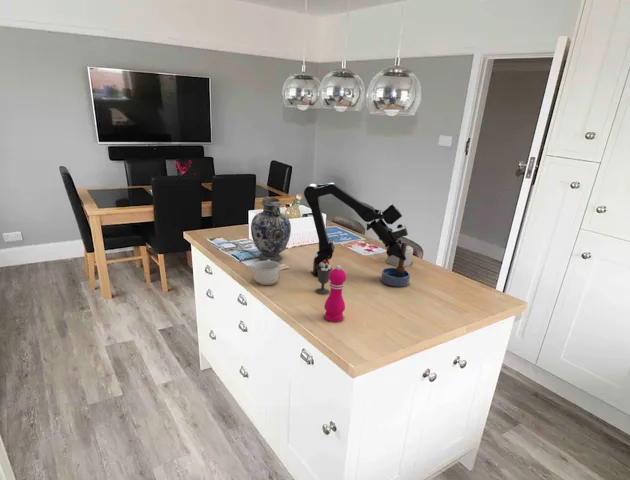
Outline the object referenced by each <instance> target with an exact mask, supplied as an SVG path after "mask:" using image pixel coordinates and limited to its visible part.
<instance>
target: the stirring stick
mask: <svg viewBox="0 0 630 480" xmlns="http://www.w3.org/2000/svg"><path fill="white" fill-rule="evenodd" d="M401 245H402V246H401V250H402V252H403V254H404V256H405V253H406V246H408V242H407V241H401ZM403 265H404V260H402V259H400V258H399V264H398V266H395V268H396V274H399V275H403V274H404V270H406V266H403Z"/></svg>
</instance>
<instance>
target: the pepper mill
mask: <svg viewBox="0 0 630 480" xmlns="http://www.w3.org/2000/svg"><path fill="white" fill-rule="evenodd" d="M328 281H329V285H328V286H329V288H330V291H329V295H328V297H327V299H326V300H325V303H324V310H325V312H324V313H325V314H324V318H325V319H326V320H327V321H328V322H332V323H337V322H341V321H342V320H343V318H344V314H343V313H344V311H345V310H346V304H345V300H344V297H343V289H344V288H345V286H344V285H345V281H347V273H346V272H345V271H344V270H343V269H342V266H341V265H340V264H337V265H335V268H332V270H331V271H330V273H329V280H328Z"/></svg>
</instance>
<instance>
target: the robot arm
mask: <svg viewBox="0 0 630 480" xmlns="http://www.w3.org/2000/svg"><path fill="white" fill-rule="evenodd" d="M326 195H332V196H333V197H335V198H337V199H338V200H339V201H341V202H342V203H343V204H345V205H347V206H348V207H349V208H351V209H352V210H353V211H354V212H355V213H356V215H358V216H359V218H361V219H362V220H363V221H364V222H365V223H366V231H369V230H370V229H371V230H372V231H373V232H374V233H375V235H376V237H378V240H379V241H381V242H382V243H383V244H384V247H385V251H386V255H388V256H389V257H390V256H392V255H393V256H396V257H398V258H400V259H402V260H406V256H404V254H403V252H402V250H401V246H402V245H401V244H402V240H401V238H402V237H407V236H408V235H409V232H408V230H407V226H406V225H403V224H401V223H399V224H397V225H396V228H394V229H393V228H392V227H389V226H388V225H393V224H395V223H396V222H397V221H398V220H400V219H401V218H402V217H403V214H402V213H401V212H400V211H399V209H398V208H397V207H396V206H395V205H394V204H393V203H390V204H389V205H388V206H387V207H386V208H385V209H383V210H381V209H376V208H374V206H373V205H370V204H368V203H365V202H362V201H360V200H359V199H357V198H355V197H354V196H352V195H351V194H350V193H348V192H347V191H345V190H344V189H343V188H341V187H340V186H339V185H337V184H336V183H335V182H329V183H322V184H315V183H310V184H308V185H307V186H306V187H305V188H304V191H303V196H304V198H305V200H306V203H307V205H308V206H309V208H310V210H311V211H310V212H311V215H312V218H313V222H314V223H313V224H314V227H315V230H316V233H317V234H316V235H317V239H318V251H317V252H316V253H315V255H314V257H313V263H312V264H313V266H312V270H311V273H312V274H313V275H314V277H318V271H317V270H316V267H317V264H318V265H319V264H320V263H321V262H322V261H323V260H325V259H326V262H327V261H330V260H331V259H332V257H333V254H334V253H335V245H334V239H333V238H332V239H330V238H329V236H328V233H327V229H326V228H327V227H326V225H325V221H324V216H323V212H322V208H321V197H323V196H326ZM398 239H399V240H398ZM328 256H330V257H329V258H327V257H328Z"/></svg>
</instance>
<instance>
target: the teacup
mask: <svg viewBox="0 0 630 480" xmlns="http://www.w3.org/2000/svg"><path fill="white" fill-rule="evenodd" d="M252 271H253V279H254V280H255V282H257V283H258V284H260V285H262V286H270V285H273V284H275V283H276V282H277V281H279V278H280V263H279V262H278V261H271V260H267V261H265V260H260V261H256V262H254V263H253V264H252Z"/></svg>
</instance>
